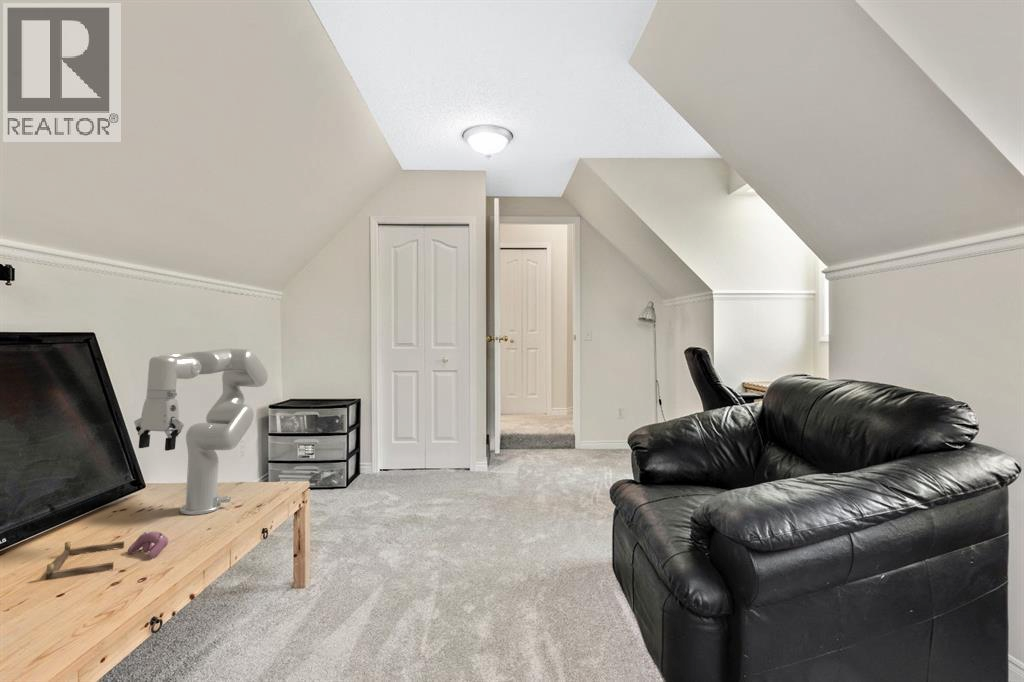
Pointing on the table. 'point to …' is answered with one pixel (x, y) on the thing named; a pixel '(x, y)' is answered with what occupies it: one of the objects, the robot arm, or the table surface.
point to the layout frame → (56, 573)
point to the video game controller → (150, 543)
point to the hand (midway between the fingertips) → (156, 448)
